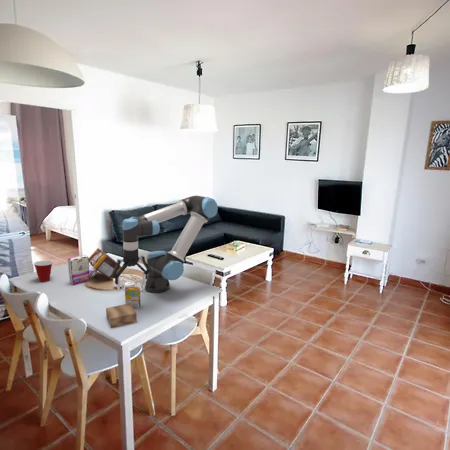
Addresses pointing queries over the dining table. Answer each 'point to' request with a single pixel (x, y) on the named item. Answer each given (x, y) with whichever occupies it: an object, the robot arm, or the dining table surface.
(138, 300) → the crayon box
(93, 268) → the water lily
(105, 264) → the supplement box
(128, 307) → the walnut block
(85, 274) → the candy bar box
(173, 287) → the dining table surface
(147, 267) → the robot arm
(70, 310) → the dining table surface
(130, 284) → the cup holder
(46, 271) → the plastic cup
